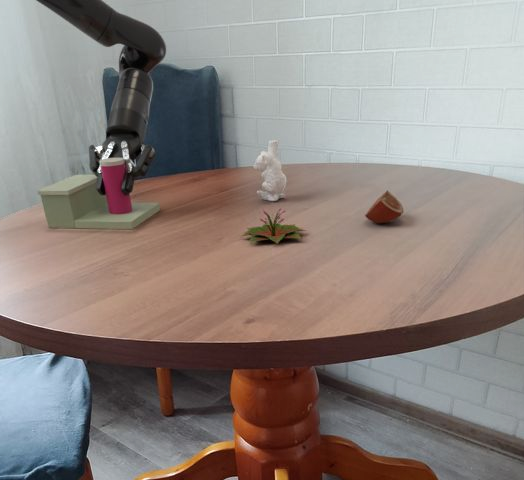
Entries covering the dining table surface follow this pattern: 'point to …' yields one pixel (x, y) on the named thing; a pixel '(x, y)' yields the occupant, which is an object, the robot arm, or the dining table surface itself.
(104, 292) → the dining table surface
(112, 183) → the lidded tumbler cup
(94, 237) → the dining table surface
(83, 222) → the step shelf
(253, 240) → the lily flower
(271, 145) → the white bunny figurine
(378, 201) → the fruit slice
